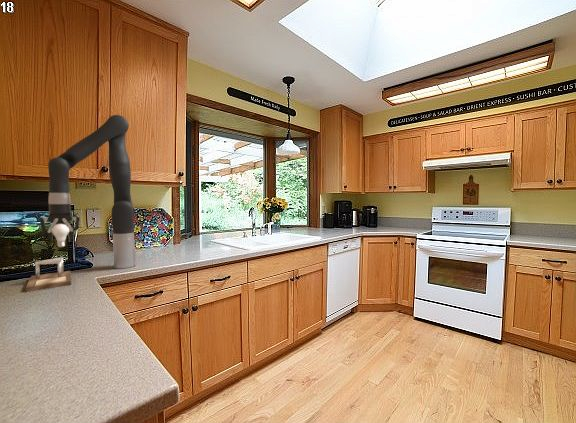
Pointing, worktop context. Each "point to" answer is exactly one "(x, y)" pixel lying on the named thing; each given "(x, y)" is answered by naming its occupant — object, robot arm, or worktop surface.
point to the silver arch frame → (50, 261)
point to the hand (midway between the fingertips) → (61, 240)
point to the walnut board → (33, 279)
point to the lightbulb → (60, 233)
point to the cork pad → (50, 281)
